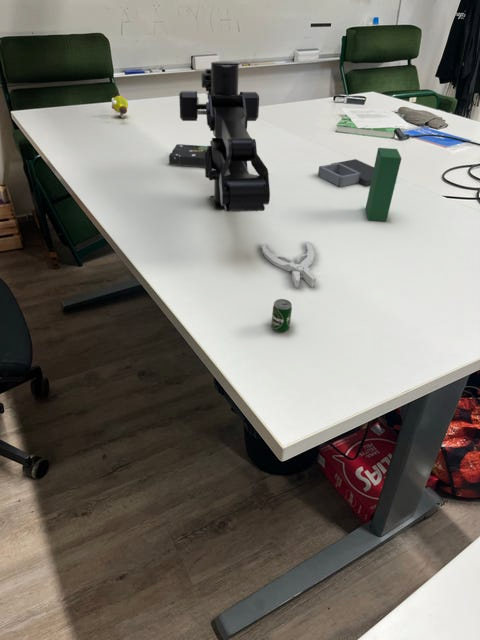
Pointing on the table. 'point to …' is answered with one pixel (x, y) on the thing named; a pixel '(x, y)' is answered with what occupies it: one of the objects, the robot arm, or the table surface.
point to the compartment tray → (347, 173)
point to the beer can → (281, 315)
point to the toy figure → (119, 105)
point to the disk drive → (188, 155)
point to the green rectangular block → (382, 183)
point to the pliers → (294, 265)
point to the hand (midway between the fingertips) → (215, 100)
